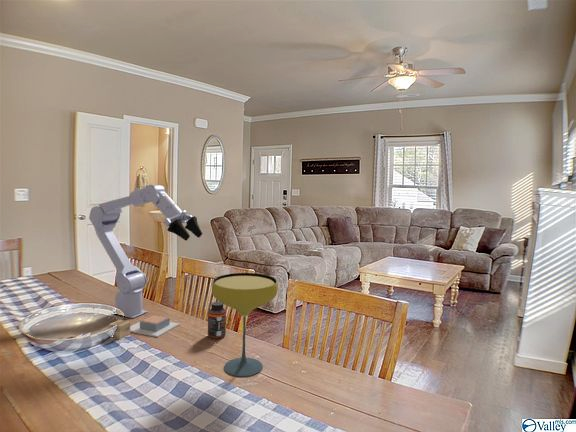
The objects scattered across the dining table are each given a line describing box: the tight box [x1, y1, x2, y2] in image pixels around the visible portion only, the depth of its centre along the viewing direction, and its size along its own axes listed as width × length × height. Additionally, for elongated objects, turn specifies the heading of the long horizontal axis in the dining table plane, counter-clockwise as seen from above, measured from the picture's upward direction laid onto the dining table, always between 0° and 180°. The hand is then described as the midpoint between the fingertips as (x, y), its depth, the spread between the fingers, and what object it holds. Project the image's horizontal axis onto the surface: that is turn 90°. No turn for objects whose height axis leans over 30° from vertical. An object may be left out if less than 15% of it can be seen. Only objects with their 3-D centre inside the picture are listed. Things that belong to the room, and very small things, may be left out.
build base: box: [130, 314, 181, 338], centre depth 134 cm, size 14×12×3 cm
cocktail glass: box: [211, 272, 279, 378], centre depth 107 cm, size 18×18×25 cm
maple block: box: [108, 319, 131, 340], centre depth 126 cm, size 4×4×4 cm
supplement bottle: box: [207, 301, 227, 340], centre depth 128 cm, size 6×6×11 cm
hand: (194, 237), depth 135 cm, fingers open, 7 cm apart
